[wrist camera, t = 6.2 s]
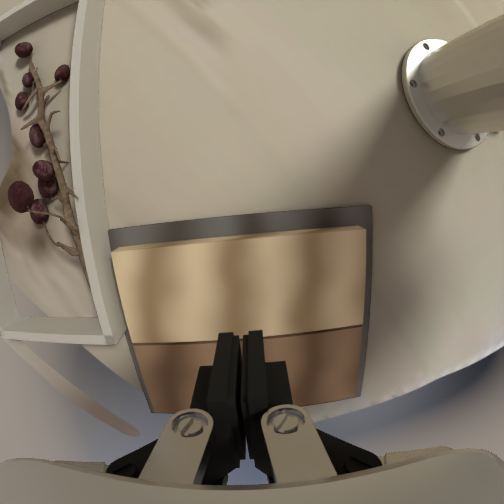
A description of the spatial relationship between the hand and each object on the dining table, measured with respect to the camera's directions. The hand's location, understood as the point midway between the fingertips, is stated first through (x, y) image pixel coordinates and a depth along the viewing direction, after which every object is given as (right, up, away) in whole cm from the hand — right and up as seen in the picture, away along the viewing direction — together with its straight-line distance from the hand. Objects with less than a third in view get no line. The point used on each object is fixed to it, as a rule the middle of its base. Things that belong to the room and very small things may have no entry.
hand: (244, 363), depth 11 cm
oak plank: (-1, +1, +16) cm, 16 cm away
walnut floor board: (0, -3, +18) cm, 18 cm away
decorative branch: (-19, +14, +14) cm, 28 cm away
